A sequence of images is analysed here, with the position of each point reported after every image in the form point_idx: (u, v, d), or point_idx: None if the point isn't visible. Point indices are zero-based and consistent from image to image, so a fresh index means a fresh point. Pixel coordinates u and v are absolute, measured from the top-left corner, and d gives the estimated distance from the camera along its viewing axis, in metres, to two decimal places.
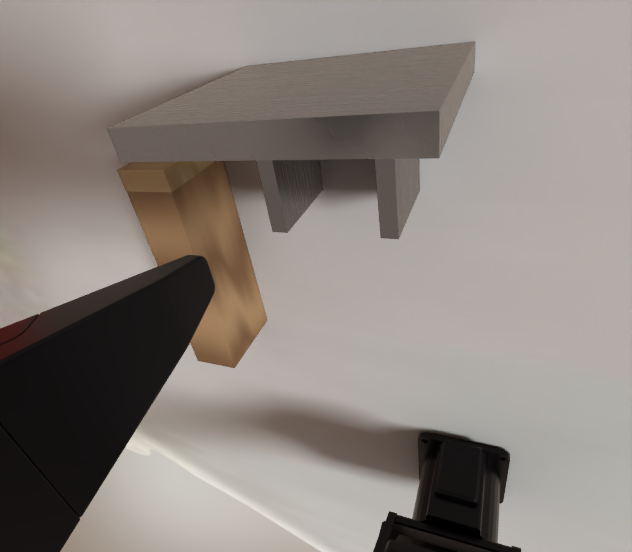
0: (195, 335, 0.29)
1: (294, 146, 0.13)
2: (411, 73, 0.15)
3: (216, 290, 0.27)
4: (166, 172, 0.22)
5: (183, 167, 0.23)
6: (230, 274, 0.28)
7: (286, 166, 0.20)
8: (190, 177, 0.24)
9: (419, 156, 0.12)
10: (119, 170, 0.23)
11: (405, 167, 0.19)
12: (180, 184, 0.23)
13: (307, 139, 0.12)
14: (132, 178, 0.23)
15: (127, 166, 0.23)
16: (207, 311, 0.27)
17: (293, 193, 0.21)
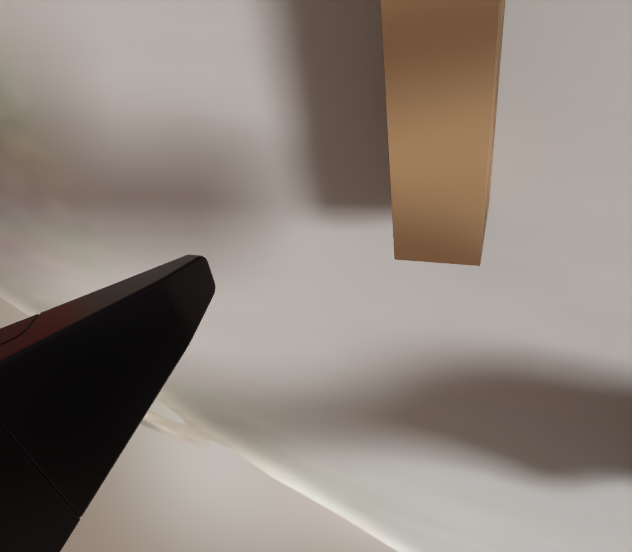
0: (412, 197, 0.15)
1: None
2: None
3: (494, 77, 0.13)
4: None
5: None
6: (497, 65, 0.14)
7: None
8: None
9: None
10: None
11: None
12: None
13: None
14: None
15: None
16: (471, 126, 0.13)
17: None
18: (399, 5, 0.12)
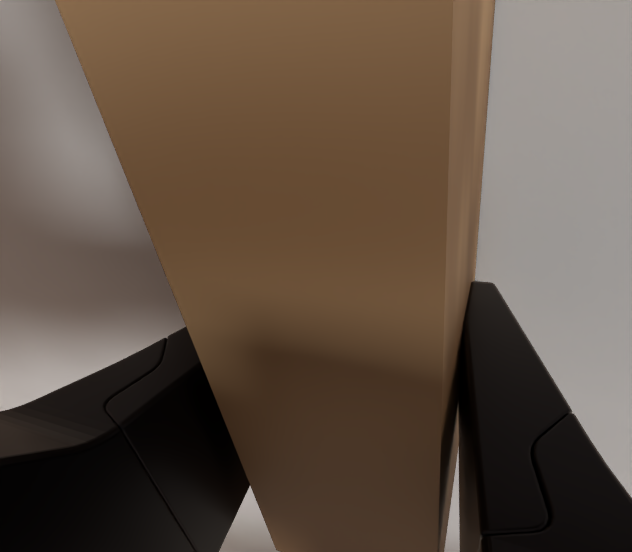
0: (286, 488, 0.07)
1: None
2: None
3: (453, 297, 0.05)
4: None
5: None
6: (470, 221, 0.06)
7: None
8: None
9: None
10: None
11: None
12: None
13: None
14: None
15: None
16: (392, 415, 0.05)
17: None
18: (148, 120, 0.04)
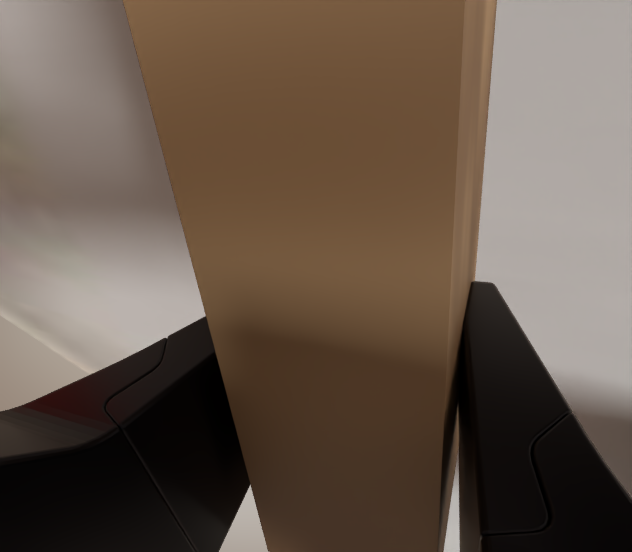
0: (284, 470, 0.07)
1: None
2: None
3: (459, 254, 0.05)
4: None
5: None
6: (473, 202, 0.06)
7: None
8: None
9: None
10: None
11: None
12: None
13: None
14: None
15: None
16: (397, 371, 0.05)
17: None
18: (182, 63, 0.04)
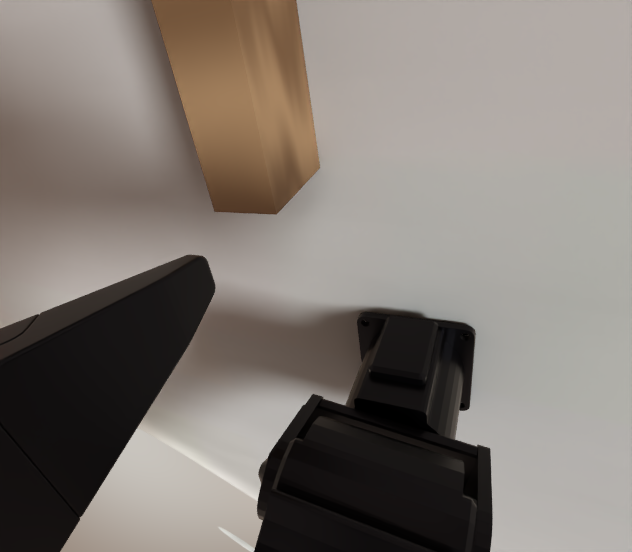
0: (212, 154, 0.17)
1: None
2: None
3: (253, 48, 0.15)
4: None
5: None
6: (275, 40, 0.16)
7: None
8: None
9: None
10: None
11: None
12: None
13: None
14: None
15: None
16: (236, 88, 0.15)
17: None
18: None
